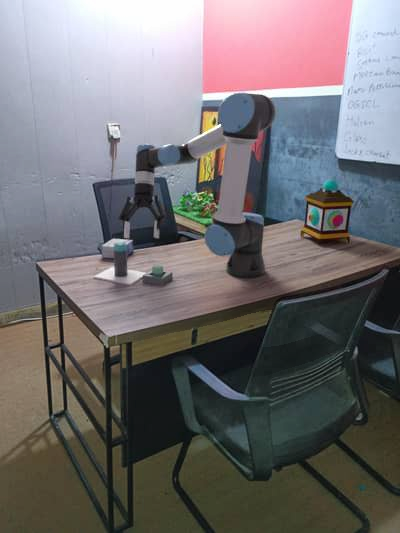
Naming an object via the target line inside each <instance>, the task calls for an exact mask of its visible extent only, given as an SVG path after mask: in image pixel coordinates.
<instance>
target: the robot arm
mask: <svg viewBox="0 0 400 533" xmlns="http://www.w3.org/2000/svg"><path fill="white" fill-rule="evenodd" d="M275 117H276V107H275V104H274V102H273V101H272V99H271V98H269V97H268V96H266V95H264V94H259V93H258V94H256V93H247V92H233V93H231V94H229V95H227V96H226V97H225V98H224V99H223V100H222V102H221V103H220V104H219V107H218V112H217V120H218V123H219V124H218V125H216V126H215V127H212V128H211V129H209V130H207V131H205V132H203V133H202V134H199V135H198V136H196V137H194V138H192V139H191V140H189V141H186V142H185V143H183V144H178V145H177V144H176V145H175V144H173V143H171V144H163V145H161V146H157V147H156V146H155V145H153V144H149V143H141V144H139V145H138V146H137V148H136V153H135V158H136V159H135V176H134V183H135V184H134V190H133V191H134V196H133V197H131V196H127V198H126V203H125V205H124V206H123V209H122V210H121V212H120V215H119V217H118V220H120V221H122V229H123V231H124V232H123V238H124V239H130V231H131V230H130V229H131V222H130V220H131V219H132V218H133V216H134V215H135V213H136V212H138V210H139V209H148V210H149V211H150V212H151V213H152V215H153V217H154V218H155V220H154V226H153V238H155V239H160V230H161V229H162V223H163V222H162V221H165V220H167V216H166V213H165V212H166V211H165V210H164V207H163V205H162V203H161V196H159V195H156V194H155V195H154V192H155V190H154V184H155V172H156V171H155V170H156V169H158V168H159V169H160V168H163V167H164V168H165V167H171V166H178V165H180V166H181V165H190V164H194V163H197V162H198V161H199V159H200V158H202V157H204V156H207V155H208V154H210V153H213V152H214V151H216V150H218V149H221V148H222V147H225V150H224V157H223V165H222V166H223V168H222V173H221V174H222V175H221V176H222V177H221V182H220V183H221V184H220V191H219V192H220V193H219V194H220V195H219V201H218V209H217V212H215V213H213V216H212V223H211V224H210V225H209V226H208V227H207V228H206V229H205V231H204V243H205V246H206V247H207V248H208V249H209V251H210V252H211V253H212V254H214V255H215V256H219V257H224V256H225V257H226V256H229V257H228V261H227V263H226V266H225V268H226V269H225V270H226V272H227V273H228V274H229V275H232V276H235V277H239V278H257V277H261V276H263V275H265V272H266V265H265V262H264V258H263V253H262V250H263V239H264V229H265V218H264V216H263V215H261V214H258V213H253V212H246V211H244V205H245V197H246V190H247V186H248V178H249V172H250V171H249V169H250V164H251V155H252V148H253V144H254V143H256V142H257V141H258V140H259V134H260V132H263V131H265V130H267V129H268V128H269V127H271V125H273V123H274V121H275ZM153 202H154V203H155V206H156V208H157V210H156V208H155V207H154V204H152V203H153ZM243 211H244V212H243Z"/></svg>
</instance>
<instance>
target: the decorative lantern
mask: <svg viewBox="0 0 400 533" xmlns="http://www.w3.org/2000/svg"><path fill="white" fill-rule="evenodd" d="M305 201H306V209H305V217H304V225H303V227H302V228H301V230H300V237H301V238H303V237H304V236H305V235H308V236H309V237H311V238H314V239H315V240H317V245H318V247H319V246H321V245H322V242H323V241H329V240H331V241H332V240H343V239H345V243H346V244H349V243H350V242H351V241H350V240H351V237H350V234H349V224H350V217H351V212H352V210H351V209H352V206H353V205H354V203H355V201H354V200H353V199H352V198H351V197H350V196H347V195H346V194H344V193H343V192H342V191H341V190H340V189H339V183H337V181H336V180H334V179H332V178H331V179H328V180H326V181H325V182H324V183H323V186H322V187H321V188H319V189H318V190H317V191H315V192H310V193H309V194H307V195H305Z"/></svg>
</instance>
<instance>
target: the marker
mask: <svg viewBox="0 0 400 533" xmlns="http://www.w3.org/2000/svg"><path fill="white" fill-rule="evenodd" d="M113 263H114V264H113V265H114V266H113V267H114V272H115V276H117V277H125V276H127V275H128V270H129V269H128V256H127V250H126V243H123V242H118V243H114V259H113Z"/></svg>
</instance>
